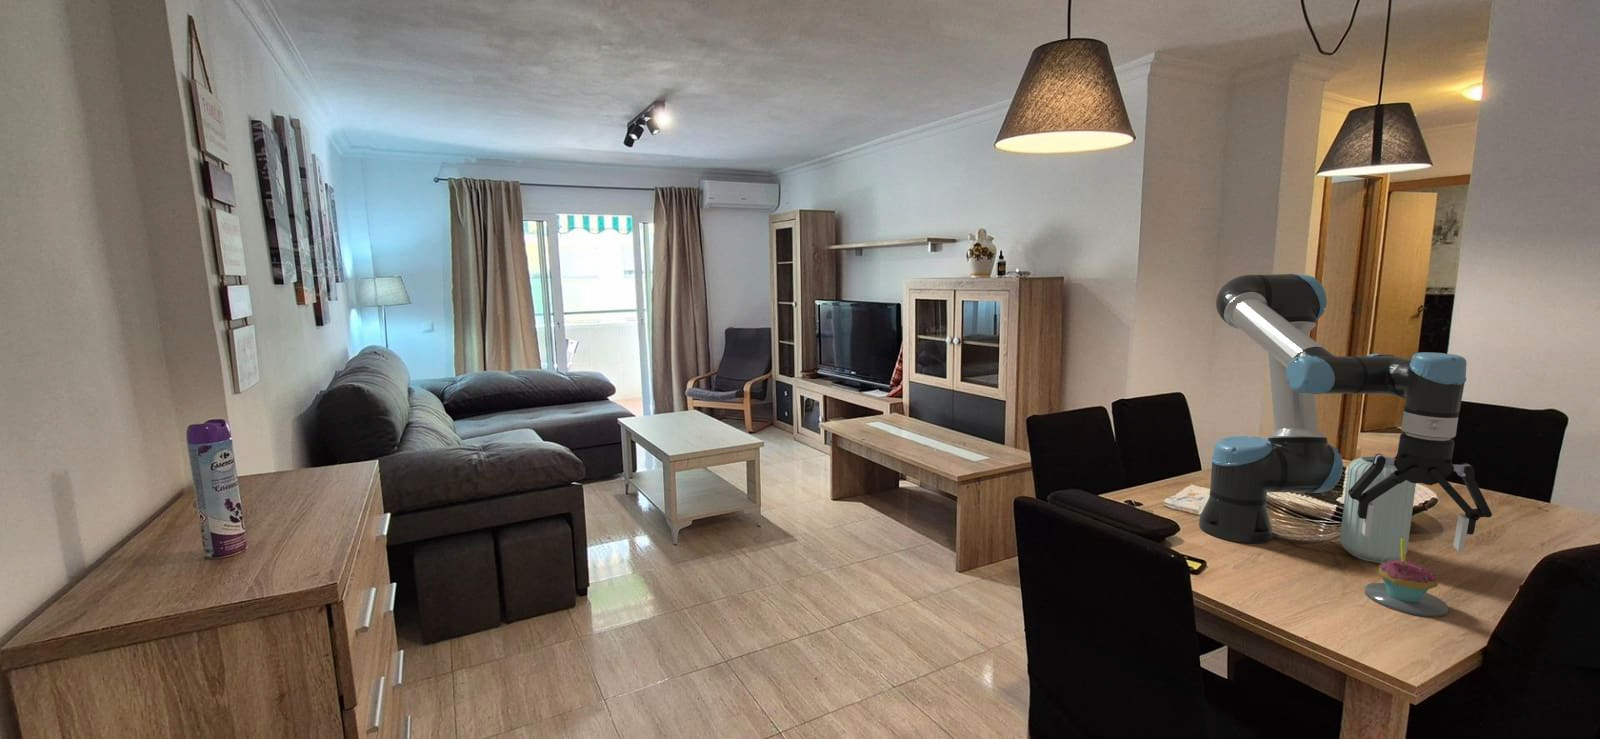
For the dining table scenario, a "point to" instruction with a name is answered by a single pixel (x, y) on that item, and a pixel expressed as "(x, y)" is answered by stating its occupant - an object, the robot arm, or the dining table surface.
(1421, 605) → the coaster
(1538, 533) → the dining table surface
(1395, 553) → the vase
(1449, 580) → the dining table surface
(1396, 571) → the cupcake
